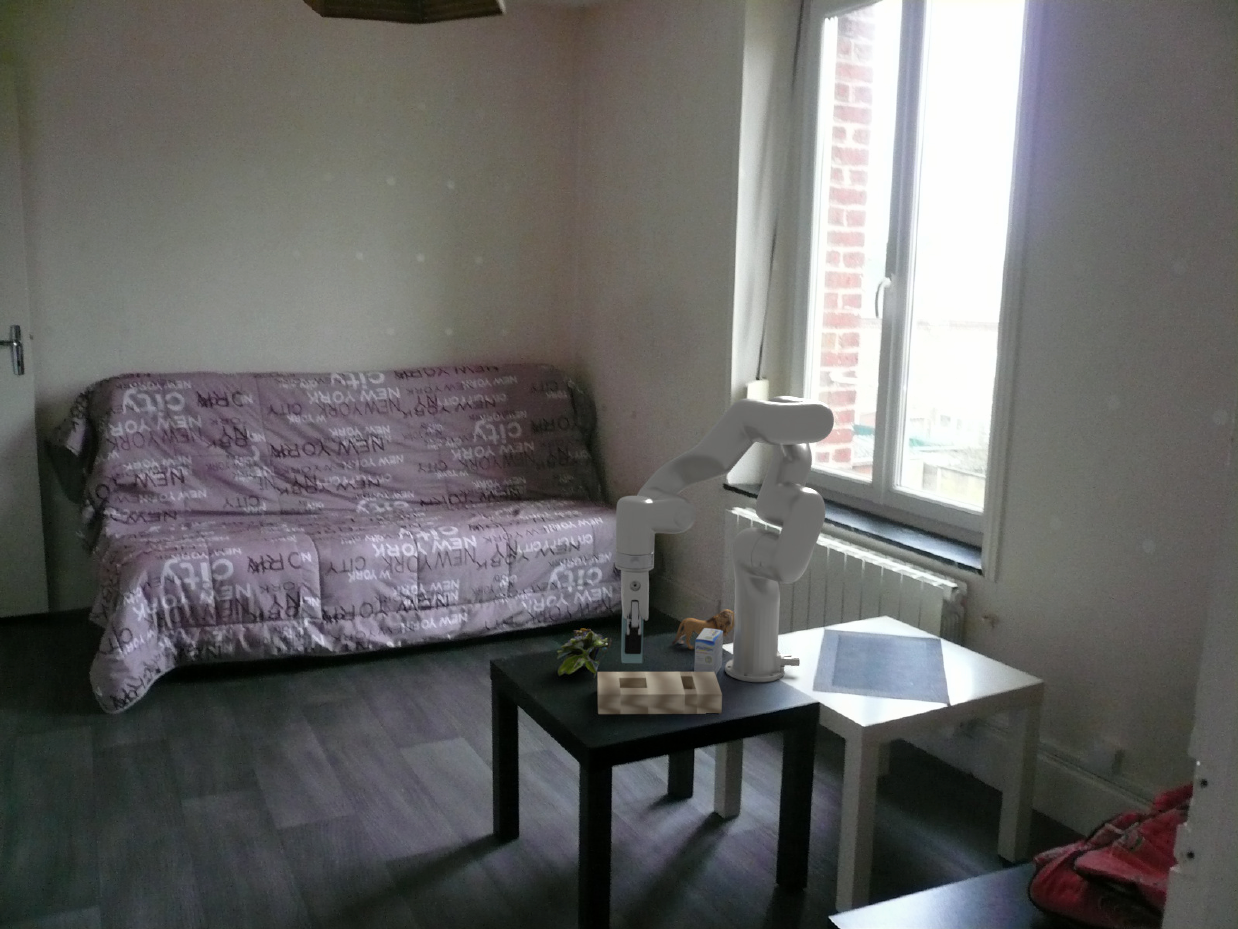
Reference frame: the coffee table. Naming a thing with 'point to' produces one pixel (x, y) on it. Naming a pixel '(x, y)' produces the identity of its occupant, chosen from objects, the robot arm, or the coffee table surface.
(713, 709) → the bore board
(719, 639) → the medicine box
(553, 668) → the coffee table surface
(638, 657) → the square peg
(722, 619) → the lion figurine
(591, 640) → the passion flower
